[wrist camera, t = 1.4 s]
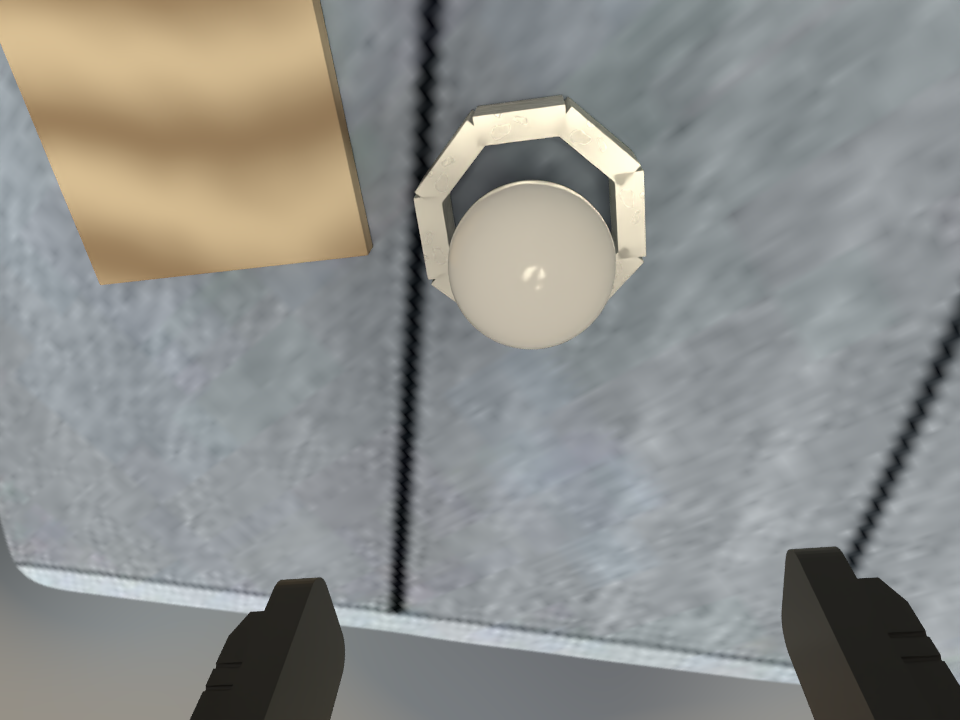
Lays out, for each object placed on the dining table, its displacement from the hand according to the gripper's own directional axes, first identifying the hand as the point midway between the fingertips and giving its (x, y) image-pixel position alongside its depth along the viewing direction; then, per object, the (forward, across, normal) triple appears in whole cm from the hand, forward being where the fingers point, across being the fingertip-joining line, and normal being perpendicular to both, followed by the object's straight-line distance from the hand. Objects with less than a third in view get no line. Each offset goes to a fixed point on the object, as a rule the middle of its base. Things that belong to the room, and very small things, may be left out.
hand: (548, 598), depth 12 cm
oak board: (+24, +15, -6) cm, 29 cm away
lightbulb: (+24, 0, 0) cm, 24 cm away
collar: (+24, 0, 0) cm, 24 cm away
